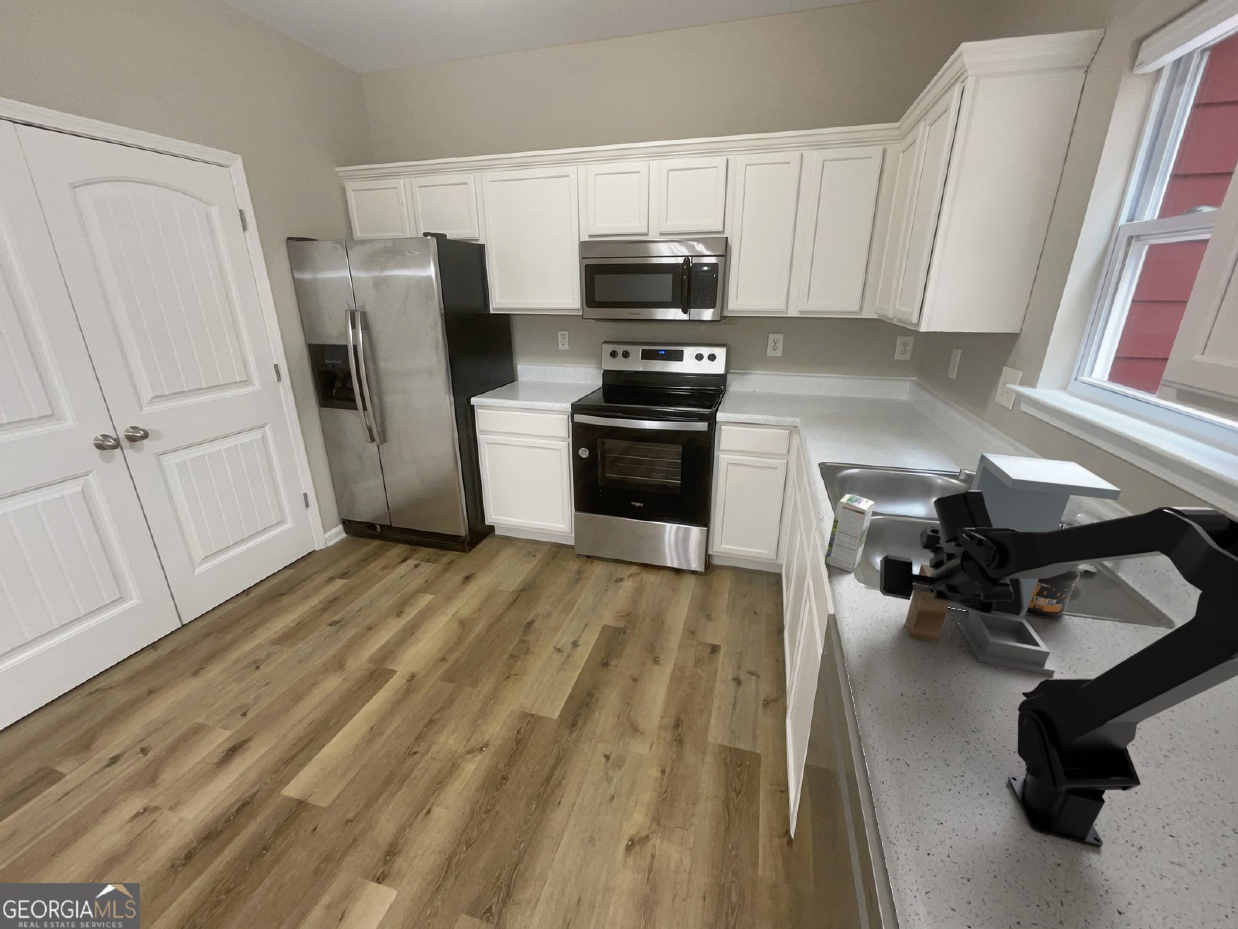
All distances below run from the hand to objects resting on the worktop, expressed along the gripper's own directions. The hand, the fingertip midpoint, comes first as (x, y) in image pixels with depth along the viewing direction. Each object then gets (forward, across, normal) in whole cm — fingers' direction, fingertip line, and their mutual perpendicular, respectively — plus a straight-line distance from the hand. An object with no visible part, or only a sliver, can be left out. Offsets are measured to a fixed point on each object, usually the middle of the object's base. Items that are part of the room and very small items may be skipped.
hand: (927, 595), depth 84 cm
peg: (+4, 0, +6) cm, 7 cm away
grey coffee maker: (+7, -12, +2) cm, 14 cm away
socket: (+4, -12, +6) cm, 14 cm away
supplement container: (+15, -22, -6) cm, 27 cm away
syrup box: (+18, +10, -8) cm, 22 cm away
